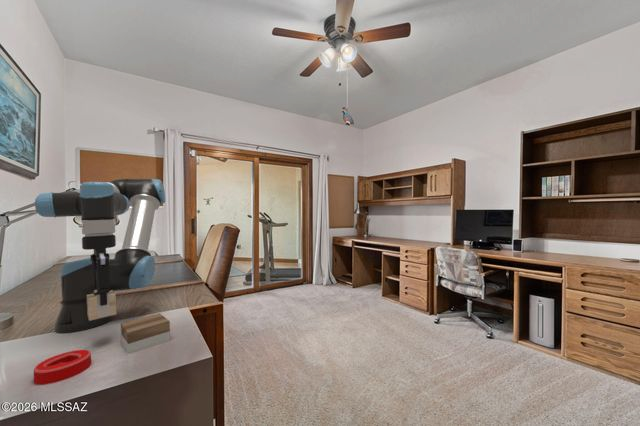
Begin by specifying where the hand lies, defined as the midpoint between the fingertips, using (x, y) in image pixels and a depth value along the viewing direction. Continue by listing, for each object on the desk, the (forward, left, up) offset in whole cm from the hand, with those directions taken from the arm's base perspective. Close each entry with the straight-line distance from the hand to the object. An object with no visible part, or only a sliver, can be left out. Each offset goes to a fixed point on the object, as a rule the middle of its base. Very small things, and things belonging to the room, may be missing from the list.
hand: (102, 313), depth 76 cm
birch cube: (0, 0, 0) cm, 1 cm away
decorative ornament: (+13, -8, -9) cm, 18 cm away
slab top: (+10, +9, -6) cm, 14 cm away
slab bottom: (+10, +9, -9) cm, 16 cm away
